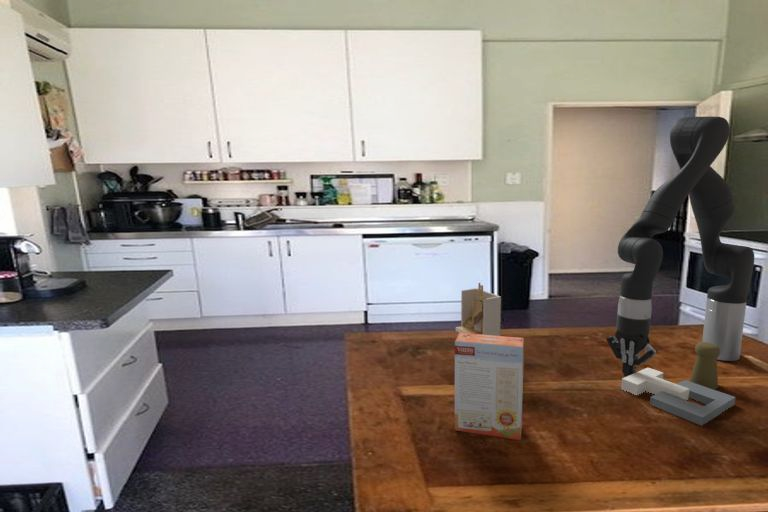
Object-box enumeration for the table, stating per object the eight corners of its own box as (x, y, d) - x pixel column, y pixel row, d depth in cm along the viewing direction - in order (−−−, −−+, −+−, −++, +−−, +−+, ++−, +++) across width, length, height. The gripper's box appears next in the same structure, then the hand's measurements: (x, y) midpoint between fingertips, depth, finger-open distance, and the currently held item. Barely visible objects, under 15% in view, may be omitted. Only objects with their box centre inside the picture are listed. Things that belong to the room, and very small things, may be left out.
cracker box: (521, 426, 99) (525, 336, 95) (520, 442, 94) (524, 347, 90) (458, 417, 104) (459, 330, 100) (453, 431, 98) (454, 340, 94)
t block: (621, 389, 115) (621, 378, 114) (646, 377, 121) (647, 367, 120) (670, 409, 105) (672, 397, 104) (696, 395, 111) (697, 384, 110)
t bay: (649, 404, 107) (650, 397, 107) (683, 387, 115) (684, 379, 115) (701, 425, 98) (702, 417, 98) (734, 404, 106) (735, 397, 106)
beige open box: (474, 355, 139) (475, 275, 134) (499, 370, 129) (501, 283, 124) (453, 360, 136) (453, 278, 131) (477, 375, 126) (478, 287, 121)
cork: (723, 390, 113) (727, 348, 111) (696, 388, 114) (700, 347, 113) (711, 379, 119) (715, 340, 117) (685, 378, 120) (689, 338, 118)
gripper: (668, 317, 112) (662, 382, 115) (617, 305, 123) (613, 364, 127) (652, 323, 109) (645, 390, 112) (601, 309, 120) (596, 370, 123)
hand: (628, 376), depth 119 cm, fingers closed
